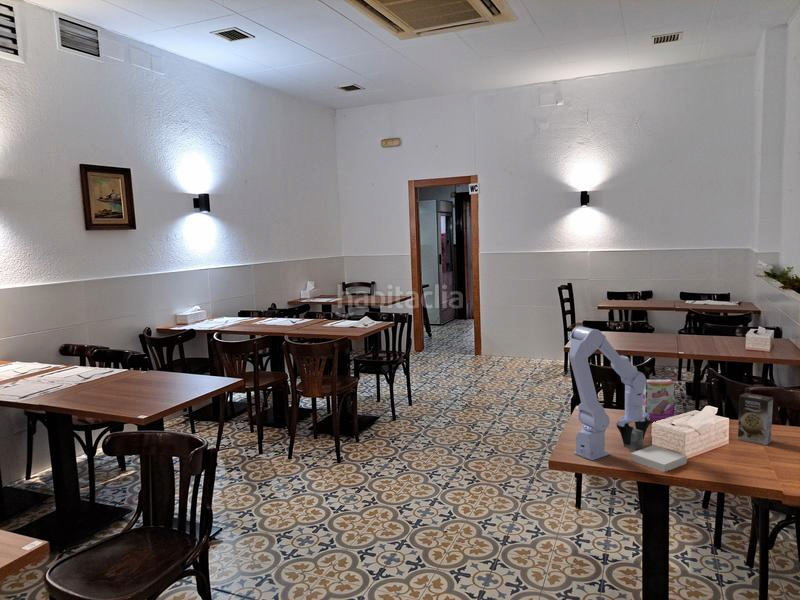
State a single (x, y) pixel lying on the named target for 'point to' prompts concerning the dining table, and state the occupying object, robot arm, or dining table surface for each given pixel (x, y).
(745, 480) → the dining table surface
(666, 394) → the candy bar box
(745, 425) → the coffee box
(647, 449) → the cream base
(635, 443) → the grey block
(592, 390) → the robot arm
